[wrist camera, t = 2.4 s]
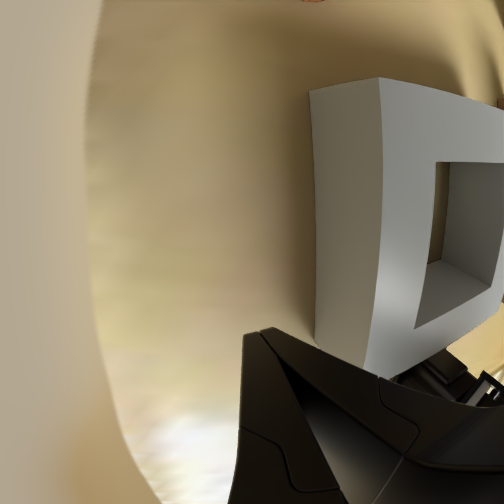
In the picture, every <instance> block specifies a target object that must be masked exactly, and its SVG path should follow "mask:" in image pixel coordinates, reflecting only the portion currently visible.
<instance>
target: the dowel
mask: <svg viewBox="0 0 504 504" xmlns="http://www.w3.org/2000/svg"><path fill="white" fill-rule="evenodd" d="M302 1H306V2H321V1H324V0H302Z"/></svg>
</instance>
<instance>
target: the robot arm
mask: <svg viewBox="0 0 504 504" xmlns="http://www.w3.org/2000/svg"><path fill="white" fill-rule="evenodd" d="M446 348H447V347H445V348H444V349H442V350H440V351H439V352H437V353H435V354H434V355H432V356H430V357H429V358H427V359H425V360H424V361H422V362H420V363H418V364H416V365H415V366H413V367H411V368H409V369H407V370H406V371H404V372H402V373H400V374H398V375H396V376H395V378H394V381H393V382H392V381H390V380H387V379H385V378H383V377H379V378H378V376H377V375H375V374H373V373H371V372H369V371H366V370H364V369H362V368H359V367H357V366H355V365H353V364H351V363H348V362H346V361H344V360H342V359H340V358H337V357H335V356H333V355H331V354H329V353H327V352H324V351H322V350H320V349H318V348H316V347H314V346H312V345H310V344H307V343H305V342H303V341H301V340H299V339H297V338H295V337H293V336H291V335H289V334H287V333H285V332H283V331H281V330H279V329H277V328H274V327H271V328H267V329H263V330H260V331H259V332H252V333H248V334H244V335H243V345H242V366H241V388H240V410H239V430H238V447H237V458H236V465H235V471H234V476H233V482H232V486H231V491H230V495H229V499H228V503H227V504H504V386H503V385H502V384H501V383H499V382H498V381H497V380H496V379H494V378H493V377H492V376H490V375H489V374H488V373H487V372H485V371H484V370H483V371H482V373H481V374H480V377H479V378H478V379H477V378H475V377H474V376H473V375H472V374H471V373H469V372H468V371H467V370H468V368H467V366H466V365H464V364H463V363H462V362H461V361H459V360H458V359H457V358H456V357H454V356H453V355H452V354H451V353H450V352H448V351H447V350H446ZM490 387H491V388H492V389H493V390H492V391H491V392H490V394H487V393H486V392H487V391H488V390H489V389H490Z"/></svg>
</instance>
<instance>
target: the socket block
mask: <svg viewBox="0 0 504 504" xmlns="http://www.w3.org/2000/svg"><path fill="white" fill-rule="evenodd" d="M309 99H310V111H311V125H312V141H313V160H314V183H315V218H316V296H315V332H314V341H315V342H316V344H317V345H318V346H319V347H320V349H321V350H322V351H324V352H327V353H329V354H331V355H333V356H335V357H337V358H340V359H342V360H344V361H346V362H348V363H351V364H353V365H355V366H357V367H359V368H362V369H364V370H366V371H369V372H371V373H373V374H375V375H377V376H378V378H379V377H383V378H385V379H387V380H388V379H390V378H392V377H394V376H396V375H398V374H400V373H402V372H404V371H406V370H407V369H409V368H411V367H413V366H415V365H416V364H418V363H420V362H422V361H424V360H425V359H427V358H429V357H430V356H432V355H434V354H435V353H437V352H439V351H440V350H442V349H444V348H445V347H447V346H448V345H450V344H452V343H453V342H455V341H456V340H458V339H459V338H461V337H462V336H464V335H465V334H467V333H468V332H470V331H471V330H473V329H474V328H476V327H477V326H479V325H480V324H481V323H483V322H484V321H486V320H487V319H488V318H490V317H491V316H492V315H494V314H495V313H496V312H498V310H499V307H500V304H501V301H502V297H503V294H504V110H501V109H498V108H496V107H493V106H490V105H487V104H484V103H482V102H479V101H476V100H472V99H469V98H466V97H463V96H460V95H456V94H453V93H449V92H446V91H442V90H438V89H434V88H430V87H426V86H422V85H418V84H413V83H408V82H404V81H399V80H393V79H388V78H382V77H375V78H369V79H363V80H357V81H352V82H347V83H342V84H337V85H332V86H327V87H323V88H319V89H314V90H310V91H309ZM436 162H450V175H449V193H448V206H447V216H446V225H445V233H444V241H443V248H442V255H441V260H438V261H435V262H433V263H430V264H427V260H428V253H429V246H430V238H431V229H432V219H433V208H434V194H435V174H436Z"/></svg>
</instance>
